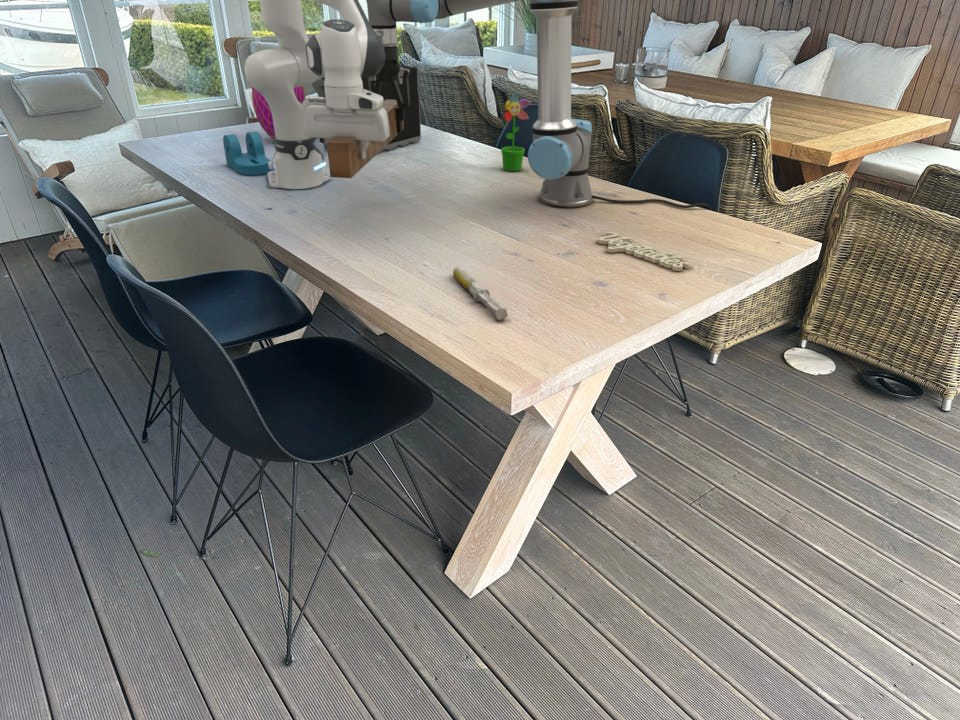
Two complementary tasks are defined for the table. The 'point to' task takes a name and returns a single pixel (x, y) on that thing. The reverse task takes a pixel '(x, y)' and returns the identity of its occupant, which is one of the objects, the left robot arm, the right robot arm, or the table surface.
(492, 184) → the table surface
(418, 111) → the grey black box
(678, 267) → the decorative sign
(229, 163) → the camera mount
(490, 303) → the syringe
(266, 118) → the decorative egg
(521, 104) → the potted flower
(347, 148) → the bar
